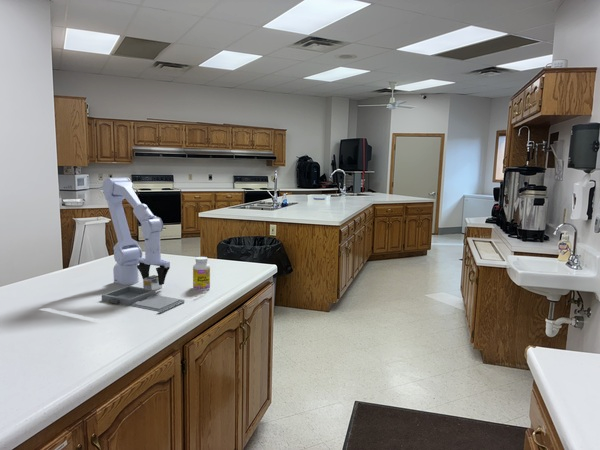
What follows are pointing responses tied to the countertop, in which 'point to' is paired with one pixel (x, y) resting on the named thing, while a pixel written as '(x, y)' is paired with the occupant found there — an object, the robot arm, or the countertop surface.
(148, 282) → the block
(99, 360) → the countertop surface
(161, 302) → the case
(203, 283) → the supplement bottle
